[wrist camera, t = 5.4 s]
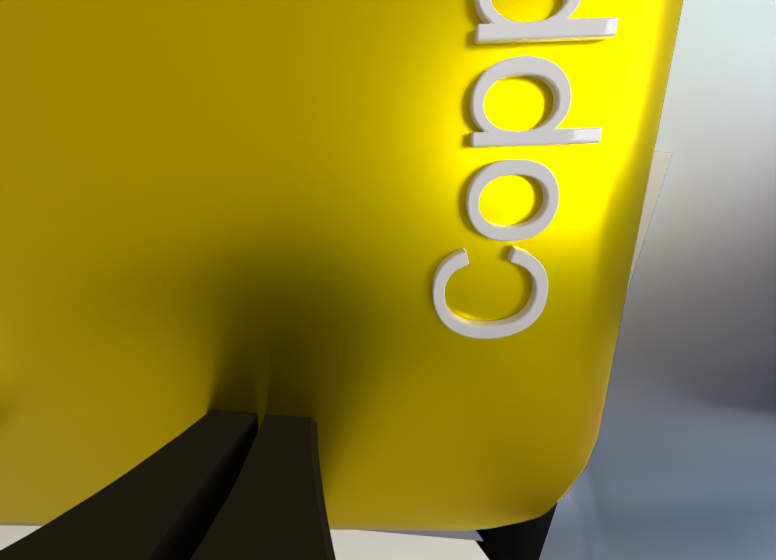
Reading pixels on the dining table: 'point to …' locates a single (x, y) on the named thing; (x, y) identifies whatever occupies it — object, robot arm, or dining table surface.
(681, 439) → the dining table surface
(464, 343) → the element tile
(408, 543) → the letter
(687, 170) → the dining table surface
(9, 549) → the robot arm
